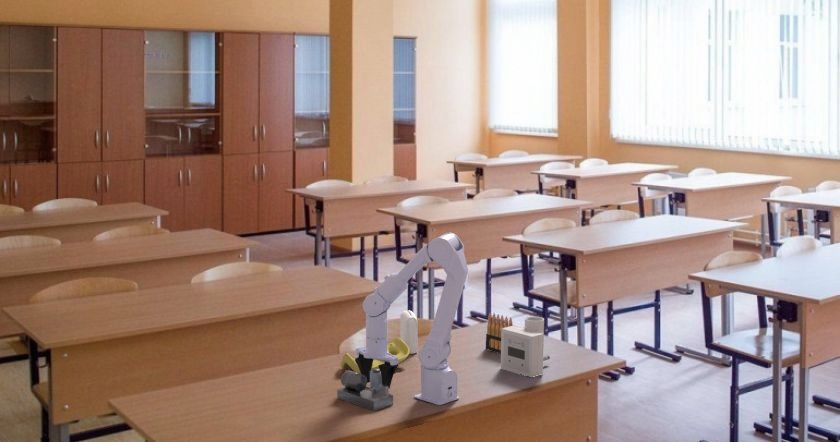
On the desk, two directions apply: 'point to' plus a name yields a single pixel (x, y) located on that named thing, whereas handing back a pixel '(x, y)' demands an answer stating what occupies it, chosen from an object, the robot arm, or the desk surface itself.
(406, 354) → the plastic component
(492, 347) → the ammunition clip
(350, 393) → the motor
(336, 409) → the desk surface
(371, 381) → the grey capped cylinder
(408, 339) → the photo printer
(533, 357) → the thermostat
